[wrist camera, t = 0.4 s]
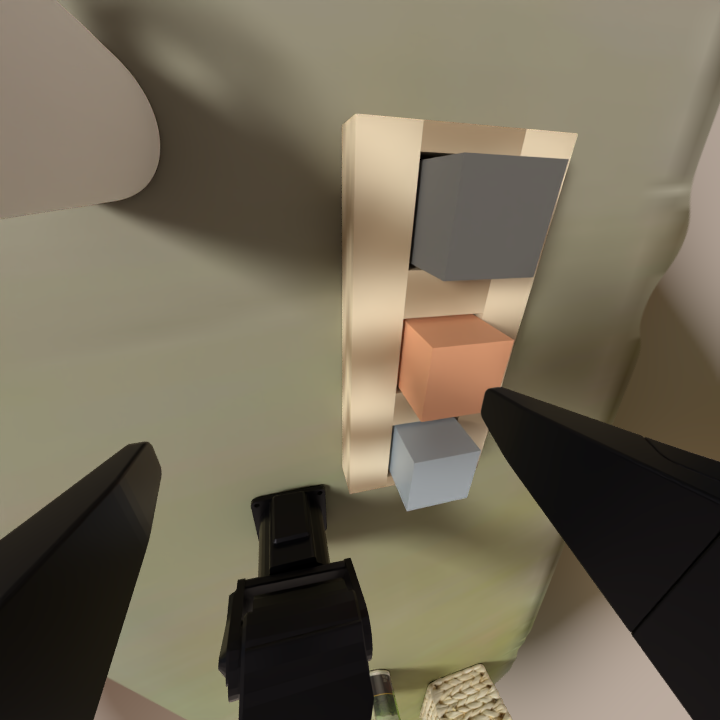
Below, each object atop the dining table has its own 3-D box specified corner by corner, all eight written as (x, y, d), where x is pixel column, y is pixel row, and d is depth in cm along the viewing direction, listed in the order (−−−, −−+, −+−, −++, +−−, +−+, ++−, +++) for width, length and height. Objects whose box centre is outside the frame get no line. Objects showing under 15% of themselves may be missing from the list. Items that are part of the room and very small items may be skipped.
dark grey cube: (476, 258, 20) (533, 277, 15) (403, 259, 18) (443, 281, 14) (495, 166, 17) (568, 158, 13) (413, 161, 16) (464, 152, 12)
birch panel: (459, 444, 31) (476, 467, 28) (342, 466, 28) (349, 494, 25) (536, 140, 19) (578, 133, 16) (341, 125, 16) (355, 113, 13)
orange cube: (453, 371, 24) (493, 410, 20) (392, 378, 23) (421, 422, 18) (465, 309, 21) (514, 340, 17) (398, 314, 20) (432, 348, 16)
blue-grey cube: (437, 450, 28) (466, 497, 24) (385, 460, 27) (406, 511, 23) (446, 407, 25) (480, 450, 21) (389, 415, 24) (414, 463, 20)
